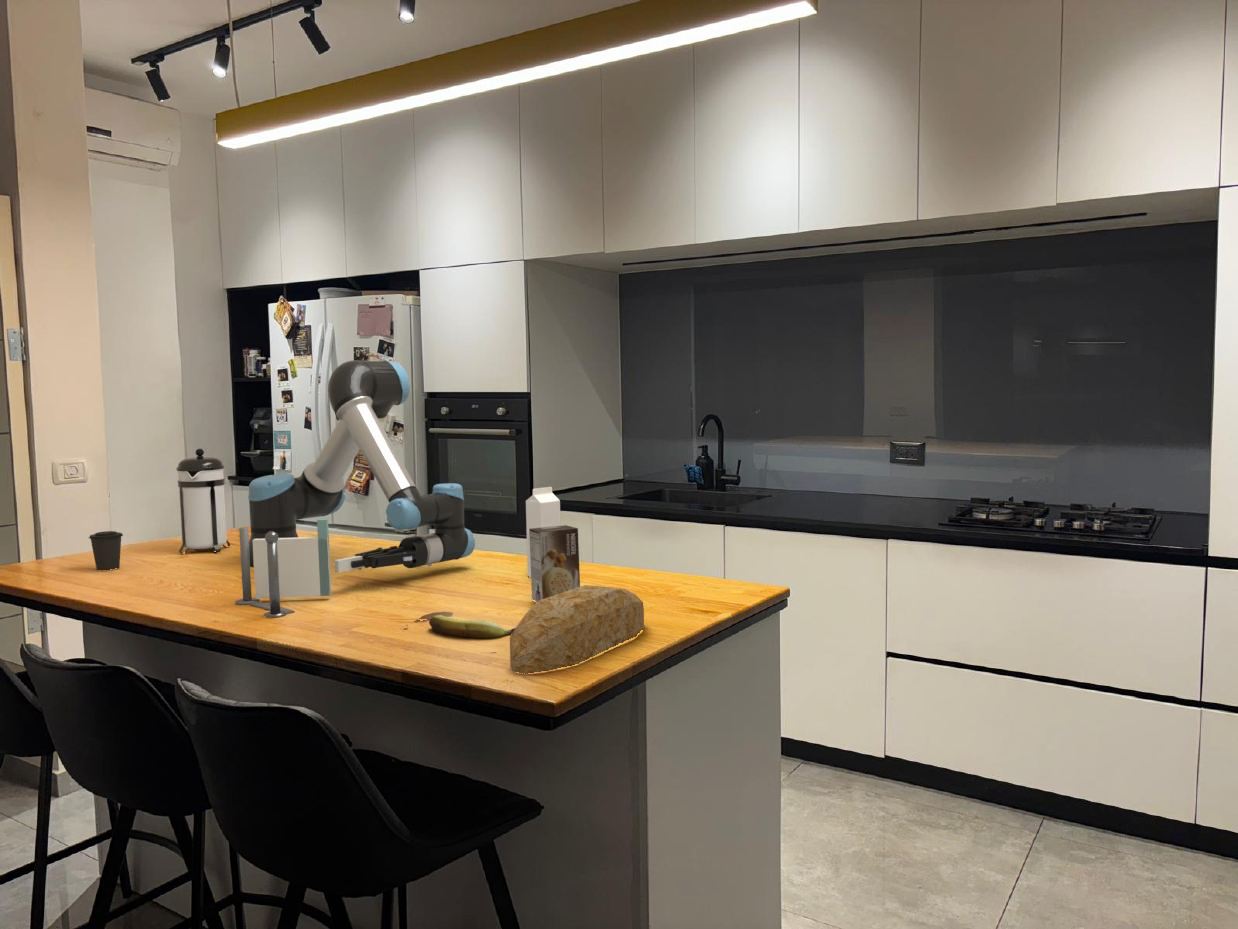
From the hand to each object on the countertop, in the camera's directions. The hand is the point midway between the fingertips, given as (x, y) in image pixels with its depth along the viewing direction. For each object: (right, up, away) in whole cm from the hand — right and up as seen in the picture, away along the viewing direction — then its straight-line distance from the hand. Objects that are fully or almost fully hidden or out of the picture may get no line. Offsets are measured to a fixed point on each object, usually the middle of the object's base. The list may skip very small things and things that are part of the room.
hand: (336, 566), depth 215 cm
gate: (-10, -7, -5) cm, 13 cm away
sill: (-13, -8, -10) cm, 18 cm away
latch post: (-7, -8, -18) cm, 21 cm away
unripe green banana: (+36, -10, -35) cm, 51 cm away
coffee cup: (-72, -5, +36) cm, 80 cm away
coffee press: (-58, -2, +64) cm, 86 cm away
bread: (+58, -10, -46) cm, 74 cm away
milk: (+46, -5, +16) cm, 49 cm away
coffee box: (+50, -7, -9) cm, 52 cm away
